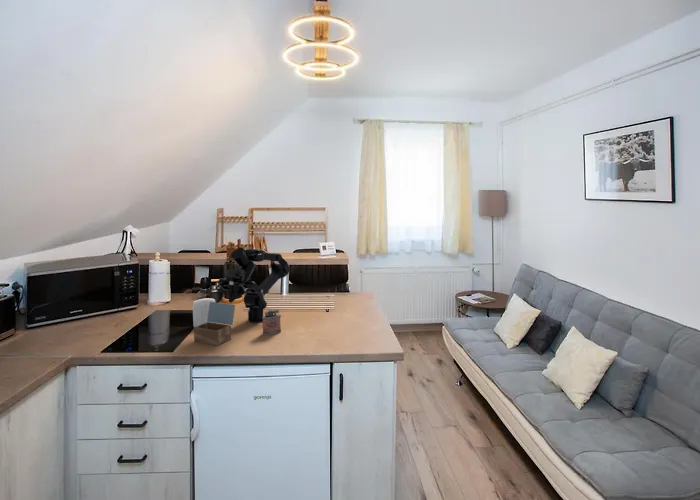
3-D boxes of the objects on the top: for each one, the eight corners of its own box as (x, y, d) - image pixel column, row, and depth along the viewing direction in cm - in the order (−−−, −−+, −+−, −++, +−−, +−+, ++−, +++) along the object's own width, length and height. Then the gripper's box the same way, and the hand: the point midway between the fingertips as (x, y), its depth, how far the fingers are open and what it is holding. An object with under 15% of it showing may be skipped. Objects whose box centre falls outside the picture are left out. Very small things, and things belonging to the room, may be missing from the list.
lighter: (263, 335, 179) (263, 312, 178) (261, 333, 182) (261, 310, 181) (282, 332, 183) (281, 309, 182) (279, 330, 186) (279, 308, 185)
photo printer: (215, 321, 198) (214, 296, 197) (217, 324, 195) (216, 298, 193) (192, 325, 193) (191, 299, 191) (194, 328, 189) (193, 301, 188)
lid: (207, 321, 178) (208, 321, 179) (231, 324, 174) (232, 324, 174) (209, 301, 179) (211, 302, 180) (233, 304, 174) (235, 304, 175)
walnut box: (208, 335, 179) (207, 322, 178) (231, 339, 174) (230, 325, 174) (194, 341, 172) (193, 327, 171) (217, 345, 167) (217, 331, 166)
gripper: (219, 260, 188) (202, 290, 179) (254, 263, 181) (238, 294, 172) (231, 274, 196) (216, 303, 188) (265, 277, 189) (251, 308, 180)
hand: (229, 302), depth 182 cm, fingers closed
